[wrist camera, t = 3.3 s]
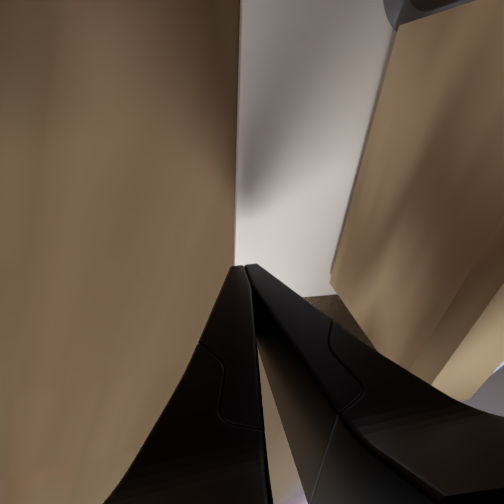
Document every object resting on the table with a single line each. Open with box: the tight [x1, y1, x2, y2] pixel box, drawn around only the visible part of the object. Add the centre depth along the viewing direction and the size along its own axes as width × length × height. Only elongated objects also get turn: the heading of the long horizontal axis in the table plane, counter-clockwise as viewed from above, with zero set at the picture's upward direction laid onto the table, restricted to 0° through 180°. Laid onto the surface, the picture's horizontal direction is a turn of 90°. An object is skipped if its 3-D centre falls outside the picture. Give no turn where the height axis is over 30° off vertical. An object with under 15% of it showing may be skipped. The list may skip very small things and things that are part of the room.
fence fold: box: [329, 0, 504, 401], centre depth 7 cm, size 9×2×6 cm, turn 177°
